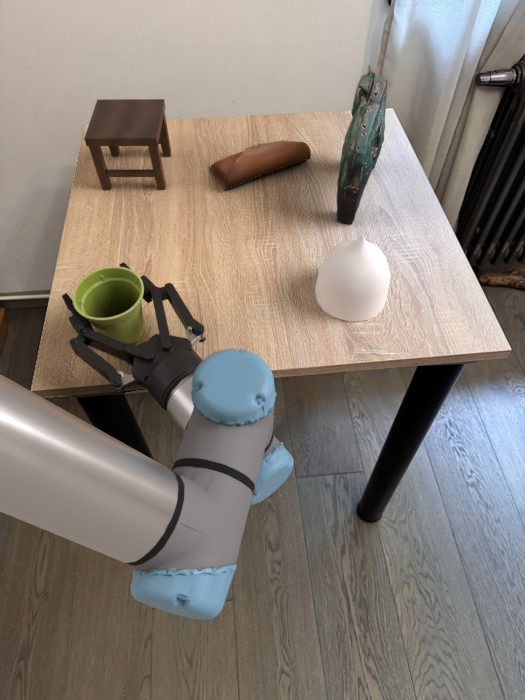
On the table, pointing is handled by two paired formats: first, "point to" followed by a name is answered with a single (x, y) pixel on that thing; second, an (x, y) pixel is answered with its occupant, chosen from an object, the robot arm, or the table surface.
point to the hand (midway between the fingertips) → (96, 285)
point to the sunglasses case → (259, 161)
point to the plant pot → (112, 302)
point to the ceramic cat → (361, 144)
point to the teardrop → (353, 281)
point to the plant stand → (128, 136)
